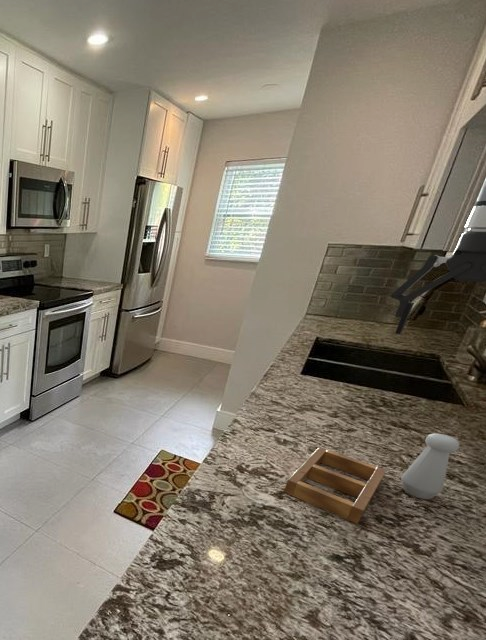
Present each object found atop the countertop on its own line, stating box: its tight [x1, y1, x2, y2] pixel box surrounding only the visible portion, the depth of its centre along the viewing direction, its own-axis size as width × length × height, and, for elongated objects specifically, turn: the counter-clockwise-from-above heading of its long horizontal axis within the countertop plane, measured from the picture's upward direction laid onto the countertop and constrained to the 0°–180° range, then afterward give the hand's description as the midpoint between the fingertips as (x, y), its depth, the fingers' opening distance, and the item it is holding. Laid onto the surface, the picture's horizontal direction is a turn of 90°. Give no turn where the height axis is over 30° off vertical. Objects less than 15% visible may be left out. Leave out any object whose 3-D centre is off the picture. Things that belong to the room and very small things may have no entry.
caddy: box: [283, 446, 387, 525], centre depth 84 cm, size 12×22×3 cm, turn 129°
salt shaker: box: [400, 433, 460, 500], centre depth 81 cm, size 6×6×13 cm
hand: (443, 340), depth 85 cm, fingers open, 13 cm apart
